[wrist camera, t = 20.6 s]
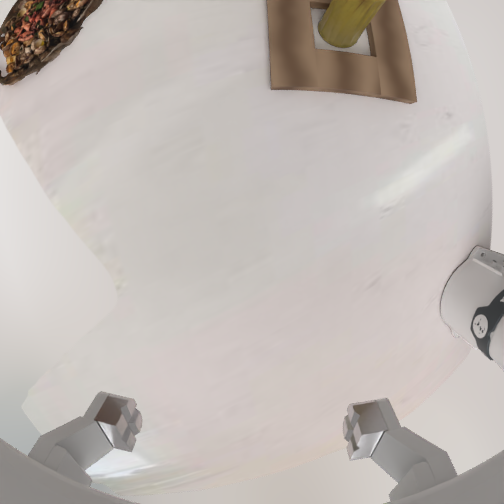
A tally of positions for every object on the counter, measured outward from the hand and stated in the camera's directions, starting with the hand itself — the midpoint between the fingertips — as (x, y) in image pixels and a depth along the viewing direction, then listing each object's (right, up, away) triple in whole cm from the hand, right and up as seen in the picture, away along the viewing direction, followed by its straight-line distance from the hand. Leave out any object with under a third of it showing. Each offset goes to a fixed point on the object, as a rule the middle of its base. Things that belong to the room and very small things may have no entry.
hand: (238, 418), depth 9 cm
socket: (+13, +38, +20) cm, 45 cm away
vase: (+13, +38, +21) cm, 45 cm away
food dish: (-40, +55, +18) cm, 70 cm away
